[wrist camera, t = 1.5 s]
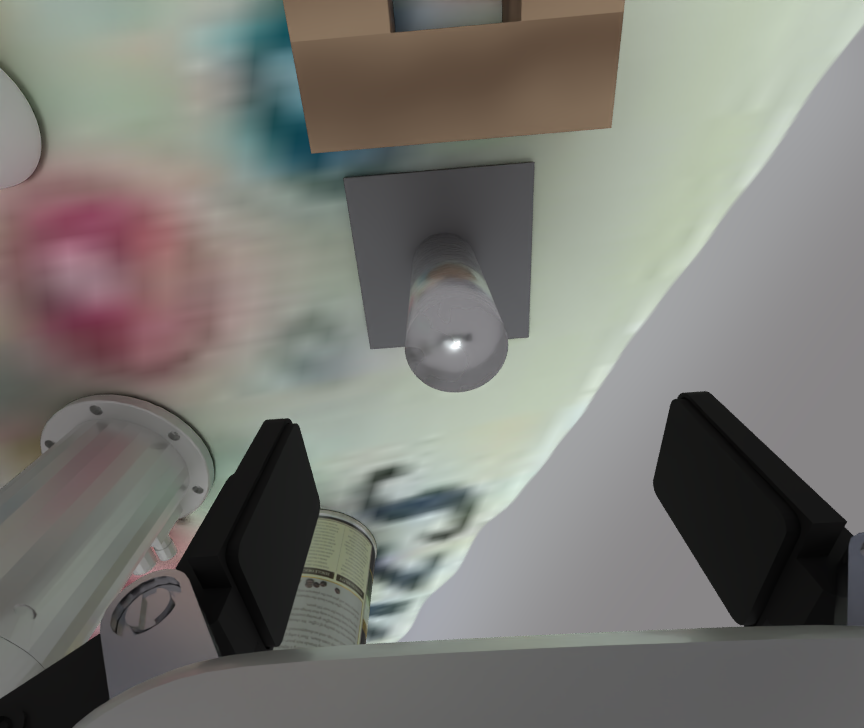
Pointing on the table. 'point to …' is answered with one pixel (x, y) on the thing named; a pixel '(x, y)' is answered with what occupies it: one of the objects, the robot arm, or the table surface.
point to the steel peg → (452, 318)
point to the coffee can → (333, 586)
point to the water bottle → (16, 135)
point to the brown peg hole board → (452, 72)
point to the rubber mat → (441, 213)
